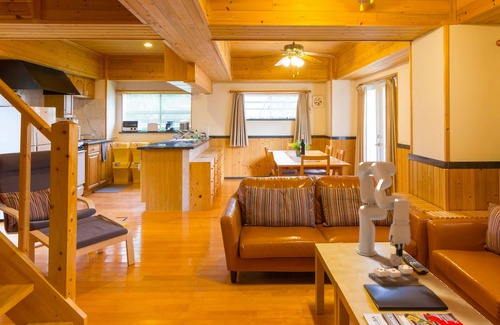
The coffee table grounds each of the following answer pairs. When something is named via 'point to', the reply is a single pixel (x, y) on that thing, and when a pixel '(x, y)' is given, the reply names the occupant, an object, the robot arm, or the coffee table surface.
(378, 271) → the three dot tile
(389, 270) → the single pip block
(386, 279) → the brown board
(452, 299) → the coffee table surface
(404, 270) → the two pip cube
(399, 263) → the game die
